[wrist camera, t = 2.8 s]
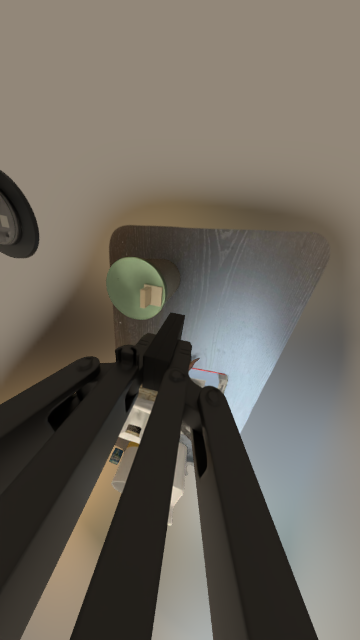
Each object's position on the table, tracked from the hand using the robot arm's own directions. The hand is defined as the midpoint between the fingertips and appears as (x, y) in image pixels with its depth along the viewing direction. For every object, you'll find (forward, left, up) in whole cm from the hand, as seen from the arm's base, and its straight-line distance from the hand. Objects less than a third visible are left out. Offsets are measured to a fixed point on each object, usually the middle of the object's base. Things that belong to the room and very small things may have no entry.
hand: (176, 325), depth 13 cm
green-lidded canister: (-9, 0, -25) cm, 26 cm away
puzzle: (-31, -125, -25) cm, 131 cm away
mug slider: (-6, 0, -8) cm, 10 cm away
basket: (-11, -49, -25) cm, 56 cm away
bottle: (+9, -94, -25) cm, 98 cm away
